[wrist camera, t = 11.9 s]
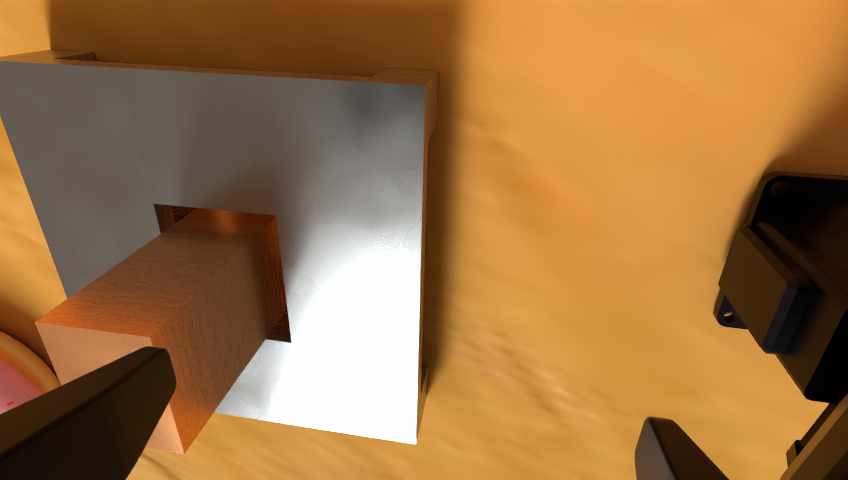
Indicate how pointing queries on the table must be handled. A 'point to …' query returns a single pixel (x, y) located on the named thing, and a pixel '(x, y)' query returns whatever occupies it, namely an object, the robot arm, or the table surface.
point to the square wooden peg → (179, 313)
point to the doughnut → (22, 374)
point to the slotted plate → (251, 208)
